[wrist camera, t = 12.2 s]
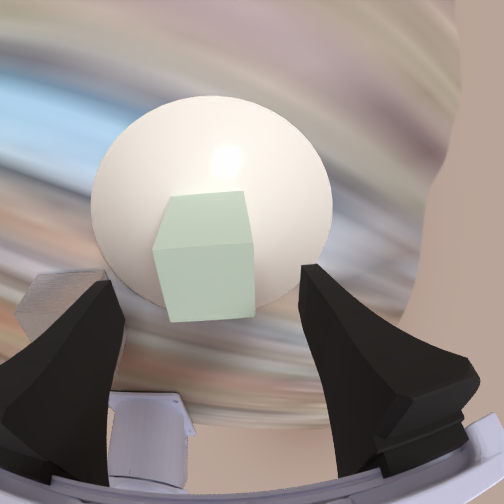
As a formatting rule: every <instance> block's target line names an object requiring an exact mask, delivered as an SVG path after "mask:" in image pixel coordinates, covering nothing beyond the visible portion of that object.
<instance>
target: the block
mask: <svg viewBox="0 0 504 504" xmlns="http://www.w3.org/2000/svg"><path fill="white" fill-rule="evenodd" d="M152 252H153V256H154V261H155V265H156V269H157V273H158V277H159V281H160V285H161V289H162V293H163V297H164V301H165V304H166V308H167V312H168V315H169V319H170V322H190V321H207V320H222V319H236V318H248V317H256V311H255V278H254V245H253V238H252V232H251V227H250V222H249V217H248V211H247V206H246V201H245V196H244V191H230V192H216V193H204V194H192V195H181V196H171V198H170V200H169V203H168V206H167V208H166V211H165V214H164V217H163V220H162V222H161V225H160V228H159V231H158V234H157V237H156V240H155V243H154V246H153V249H152Z"/></svg>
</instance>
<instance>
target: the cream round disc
mask: <svg viewBox="0 0 504 504" xmlns="http://www.w3.org/2000/svg"><path fill="white" fill-rule="evenodd" d="M230 191H244V196H245V201H246V206H247V211H248V217H249V222H250V227H251V232H252V238H253V245H254V278H255V309H257V308H260V307H262V306H264V305H266V304H269V303H271V302H273V301H274V300H276V299H278V298H279V297H281V296H283V295H284V294H286V293H287V292H288V291H290V290H291V289H292V288H294V287H295V286H296V285H297V284H298V283H299V282H300V274H301V265H308V264H315V263H316V261H317V260H318V258H319V256H320V255H321V253H322V250H323V248H324V246H325V244H326V241H327V238H328V235H329V231H330V226H331V220H332V194H331V187H330V183H329V179H328V176H327V172H326V170H325V168H324V166H323V163H322V161H321V159H320V157H319V156H318V154H317V152H316V151H315V149H314V148H313V146H312V145H311V143H310V142H309V141H308V140H307V139H306V138H305V137H304V136H303V134H302V133H301V132H300V131H299V130H298V129H296V128H295V127H294V126H293V125H292V124H291V123H289V122H288V121H287V120H286V119H284V118H283V117H281V116H279V115H278V114H276V113H274V112H273V111H271V110H270V109H267V108H265V107H263V106H260V105H258V104H256V103H253V102H250V101H246V100H243V99H239V98H234V97H226V96H196V97H190V98H184V99H180V100H177V101H173V102H170V103H167V104H164V105H162V106H160V107H158V108H156V109H154V110H152V111H150V112H148V113H146V114H145V115H143V116H142V117H140V118H139V119H137V120H136V121H135V122H133V123H132V124H131V125H129V126H128V127H127V128H126V129H125V130H124V131H123V132H122V133H121V134H120V135H119V136H118V137H117V138H116V140H115V141H114V142H113V144H112V145H111V146H110V148H109V149H108V150H107V152H106V154H105V156H104V158H103V159H102V161H101V163H100V165H99V168H98V171H97V173H96V176H95V179H94V184H93V188H92V194H91V219H92V225H93V230H94V234H95V238H96V240H97V243H98V246H99V248H100V250H101V252H102V254H103V256H104V258H105V260H106V261H107V263H108V264H109V266H110V267H111V268H112V270H113V271H114V272H115V274H116V275H117V276H118V277H119V278H120V279H121V280H122V281H123V282H124V283H125V284H126V285H127V286H128V287H130V288H131V289H132V290H133V291H134V292H136V293H137V294H139V295H140V296H142V297H143V298H145V299H147V300H149V301H150V302H152V303H154V304H156V305H158V306H161V307H163V308H166V304H165V301H164V297H163V293H162V289H161V285H160V281H159V277H158V273H157V269H156V265H155V261H154V256H153V252H152V249H153V246H154V243H155V240H156V237H157V234H158V231H159V228H160V225H161V222H162V220H163V217H164V214H165V211H166V208H167V206H168V203H169V200H170V198H171V196H181V195H192V194H204V193H216V192H230ZM166 309H167V308H166Z"/></svg>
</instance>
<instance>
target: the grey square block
mask: <svg viewBox="0 0 504 504" xmlns="http://www.w3.org/2000/svg"><path fill="white" fill-rule="evenodd" d="M103 280H108V279H107V276H106V273H105V270H104V271H89V272H74V273H58V274H42V275H37V277H36V278H35V280H34V281H33V283H32V284H31V286H30V287H29V289H28V291H27V292H26V294H25V295H24V297H23V298H22V300H21V302H20V303H19V305H18V307H17V308H16V310H15V312H14V315H15V317H16V318H17V320H18V322H19V324H20V325H21V327H22V329H23V330H24V332H25V333H26V335H27V337H28V338H29V340H30V341H31V343H32V342H33V341H34V340H36V339H37V338H38V337H39V336H40V335H41V334H42V333H44V332H45V331H46V330H47V329H48V328H49V327H50V326H51V325H52V324H53V323H54V322H55V321H56V320H57V319H58V318H59V317H60V316H61V315H62V314H63V313H64V312H65V311H66V310H67V309H68V308H69V307H70V306H71V305H72V304H73V303H74V302H75V301H76V300H77V299H78V298H79V297H80V296H81V295H82V294H83V293H84V292H85V291H86V290H87V289H88V288H89V287H90V286H91V285H93V284H94V283H95V282H96V281H103ZM127 334H128V331H127V329H126V326H125V324H124V332H123V339H122V344H121V348H120V352H119V356H118V360H117V364H116V368H115V372H114V375H116V376H118V371H119V367H120V363H121V358H122V354H123V350H124V346H125V342H126V338H127Z"/></svg>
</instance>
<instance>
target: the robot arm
mask: <svg viewBox="0 0 504 504" xmlns="http://www.w3.org/2000/svg"><path fill="white" fill-rule="evenodd" d="M298 309H299V313H300V318H301V323H302V327H303V331H304V334H305V337H306V339H307V342H308V345H309V348H310V351H311V353H312V356H313V359H314V362H315V365H316V368H317V370H318V373H319V376H320V379H321V383H322V386H323V391H324V395H325V400H326V404H327V409H328V414H329V419H330V424H331V430H332V436H333V442H334V448H335V455H336V463H337V471H338V479H334V480H330V481H325V482H320V483H315V484H310V485H304V486H298V487H292V488H286V489H278V490H270V491H261V492H250V493H236V494H213V495H212V494H207V495H194V494H192V495H191V494H188V490H184V489H183V487H184V486H185V484H186V481H187V456H188V454H187V453H188V452H187V449H188V446H187V445H188V443H187V442H188V436H195V435H196V430H195V428H194V426H193V424H192V422H191V420H190V417H189V415H188V413H187V411H186V408H185V406H184V404H183V402H182V399H181V397H180V395H179V394H177V393H136V392H112V391H110V389H111V385H112V380H113V376H114V372H115V368H116V364H117V360H118V356H119V352H120V348H121V344H122V339H123V332H124V323H125V318H124V315H123V313H122V310H121V308H120V305H119V302H118V300H117V297H116V294H115V292H114V289H113V286H112V283H111V280H103V281H96V282H95V283H94V284H93V285H91V286H90V287H89V288H88V289H87V290H86V291H85V292H84V293H83V294H82V295H81V296H80V297H79V298H78V299H77V300H76V301H75V302H74V303H73V304H72V305H71V306H70V307H69V308H68V309H67V310H66V311H65V312H64V313H63V314H62V315H61V316H60V317H59V318H58V319H57V320H56V321H55V322H54V323H53V324H52V325H51V326H50V327H49V328H48V329H47V330H46V331H45V332H44V333H42V334H41V335H40V336H39V337H38V338H37V339H36V340H34V341H33V342H32V343H31V344H29V345H28V346H27V347H26V348H24V349H23V350H22V351H20V352H19V353H17V354H16V355H15V356H13V357H12V358H10V359H9V360H8V361H6V362H4V363H3V364H1V365H0V504H466V503H467V502H468V501H470V500H472V499H474V498H475V497H477V496H478V495H480V494H481V493H483V492H484V491H486V490H487V489H489V488H490V487H492V486H493V485H495V484H496V483H497V482H499V481H500V480H502V479H503V478H504V430H503V428H502V426H501V424H500V422H499V420H498V418H497V416H496V414H495V412H492V413H490V414H488V415H487V416H485V417H483V418H481V419H479V420H477V421H475V422H473V423H472V424H470V425H469V426H467V427H466V428H464V427H463V425H462V423H461V422H462V421H463V420H464V415H463V413H462V411H461V410H462V408H463V407H464V406H465V405H466V404H467V403H468V401H469V400H470V399H471V397H473V395H474V394H475V393H476V391H477V390H478V387H479V385H480V377H479V376H478V374H477V372H476V371H475V369H474V367H473V366H472V364H471V363H470V361H469V360H468V358H466V357H463V356H460V355H457V354H454V353H451V352H448V351H445V350H442V349H440V348H437V347H435V346H432V345H430V344H428V343H426V342H424V341H421V340H419V339H417V338H415V337H413V336H411V335H410V334H408V333H406V332H404V331H402V330H400V329H399V328H397V327H395V326H393V325H392V324H390V323H389V322H387V321H386V320H384V319H383V318H381V317H380V316H378V315H377V314H375V313H374V312H372V311H371V310H370V309H368V308H367V307H366V306H365V305H363V304H362V303H361V302H359V301H358V300H357V299H356V298H354V297H353V296H352V295H351V294H350V293H349V292H347V291H346V290H345V289H344V288H343V287H342V286H341V285H340V284H338V283H337V282H336V281H335V280H334V279H333V278H332V277H331V276H330V275H329V274H328V273H327V272H326V271H324V270H323V269H322V268H321V267H320V266H319V265H318V264H308V265H301V274H300V288H299V302H298ZM108 405H109V406H110V407H111V408H112V410H113V411H114V412H115V415H114V420H113V426H112V433H111V439H110V446H109V453H108V460H107V443H106V436H107V414H108Z"/></svg>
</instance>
